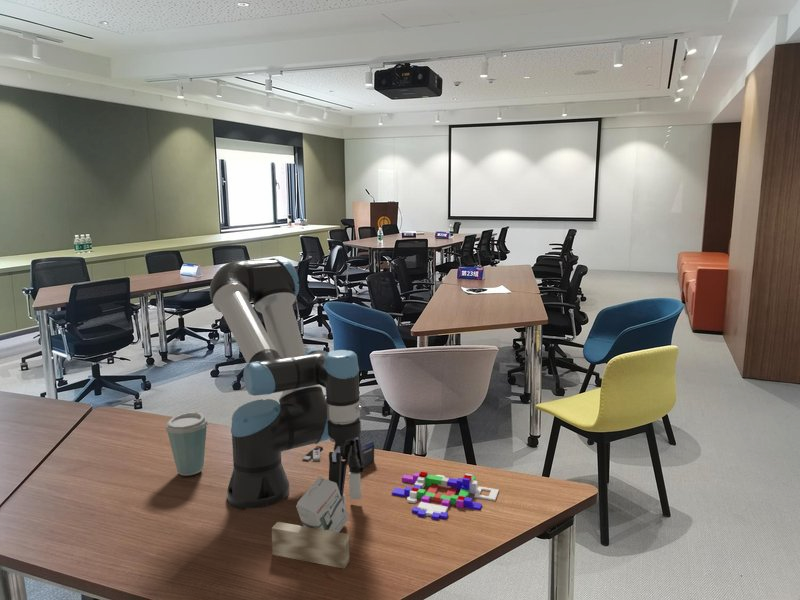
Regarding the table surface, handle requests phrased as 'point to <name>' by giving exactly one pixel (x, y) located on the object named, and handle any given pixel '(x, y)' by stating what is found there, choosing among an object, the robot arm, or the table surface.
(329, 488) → the ink box
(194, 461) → the disposable coffee cup
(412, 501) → the building block set
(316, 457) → the usb flash drive
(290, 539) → the board
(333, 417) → the robot arm
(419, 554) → the table surface
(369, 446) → the mini dv tape
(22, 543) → the table surface
